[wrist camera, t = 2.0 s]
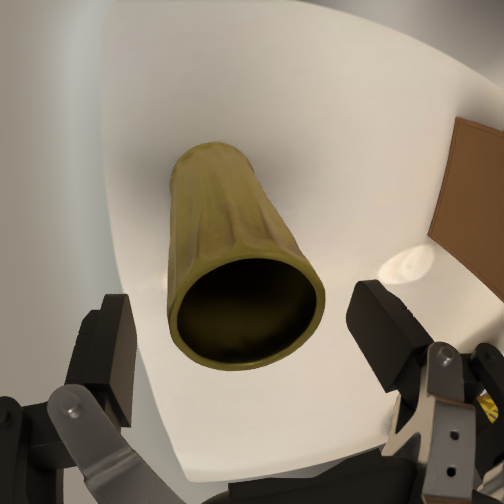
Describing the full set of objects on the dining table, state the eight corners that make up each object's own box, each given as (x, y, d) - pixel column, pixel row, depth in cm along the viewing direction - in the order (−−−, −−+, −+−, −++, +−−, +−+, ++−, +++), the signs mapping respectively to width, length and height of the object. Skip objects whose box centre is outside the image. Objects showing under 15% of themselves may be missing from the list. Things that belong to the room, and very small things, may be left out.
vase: (169, 221, 22) (161, 381, 10) (172, 140, 19) (145, 234, 7) (249, 222, 24) (314, 370, 12) (259, 144, 21) (361, 238, 9)
